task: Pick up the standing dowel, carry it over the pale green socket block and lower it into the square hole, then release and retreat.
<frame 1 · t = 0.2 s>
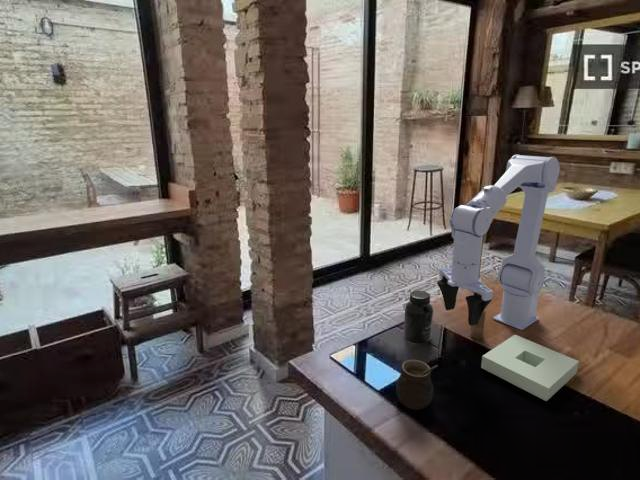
hand: (461, 316, 91), 10 cm above the counter, fingers open, 7 cm apart
mate gourd: (414, 402, 79), on the counter
socket block: (528, 370, 87), on the counter
dowel: (476, 336, 101), on the counter
supplement bottle: (417, 338, 101), on the counter
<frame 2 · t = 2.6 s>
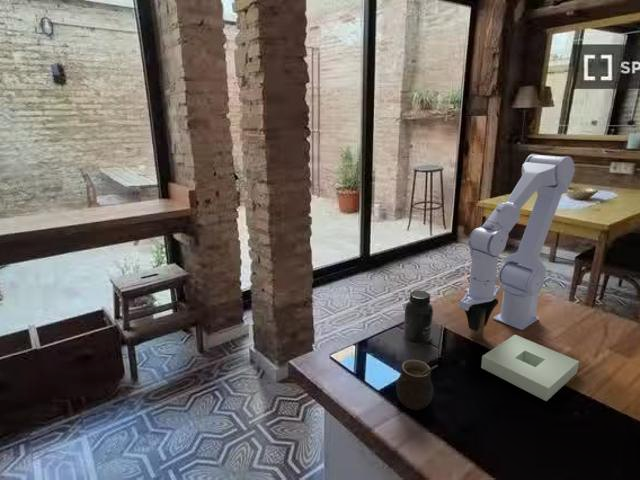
hand: (477, 326, 100), 3 cm above the counter, fingers closed on dowel, 3 cm apart
dowel: (476, 336, 101), on the counter, touching gripper
everything else where it was.
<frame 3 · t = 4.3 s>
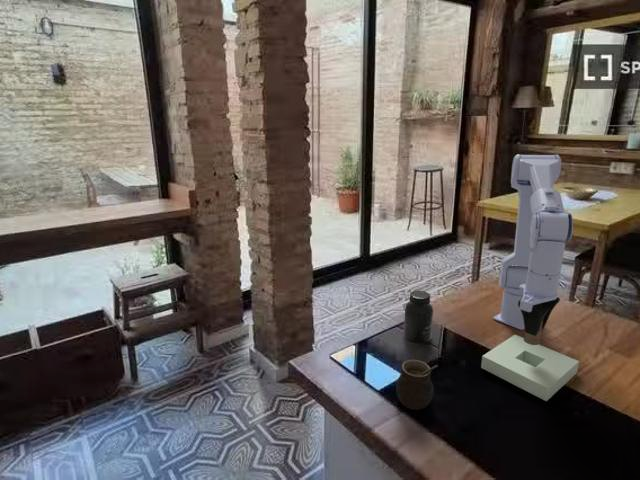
hand: (534, 330, 84), 10 cm above the counter, fingers closed on dowel, 3 cm apart
dowel: (531, 341, 85), point 7 cm above the counter, touching gripper
everything else where it was.
when the fingers open (4 cm above the counter, at t = 6.1 s): dowel drops 1 cm, resting in socket block.
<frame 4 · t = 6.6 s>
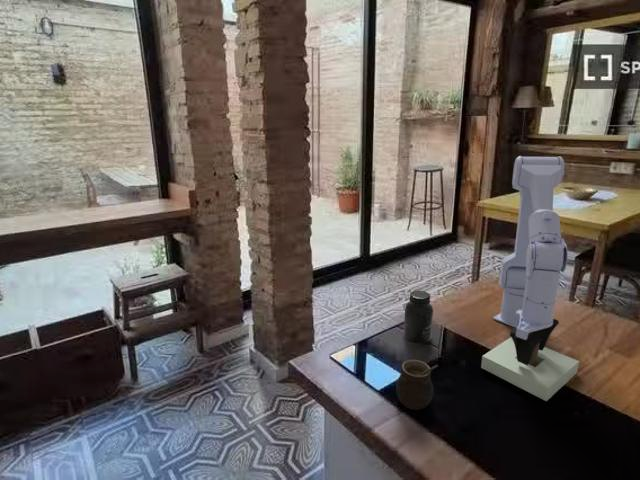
hand: (530, 355, 86), 4 cm above the counter, fingers open, 7 cm apart
dowel: (527, 370, 87), resting in socket block
everything else where it was.
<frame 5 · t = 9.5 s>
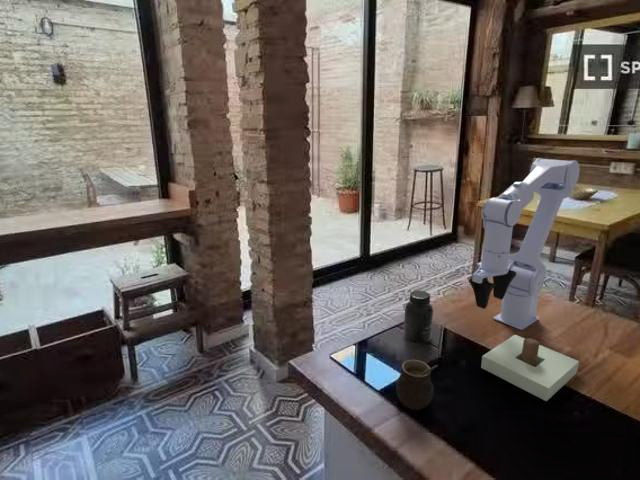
hand: (489, 302, 97), 10 cm above the counter, fingers open, 7 cm apart
nothing on the counter moved.
at the end: dowel 0.2 cm off-centre on the socket block, point 0.0 cm above the socket block's base; dowel tilted 0°; the gripper is holding nothing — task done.
